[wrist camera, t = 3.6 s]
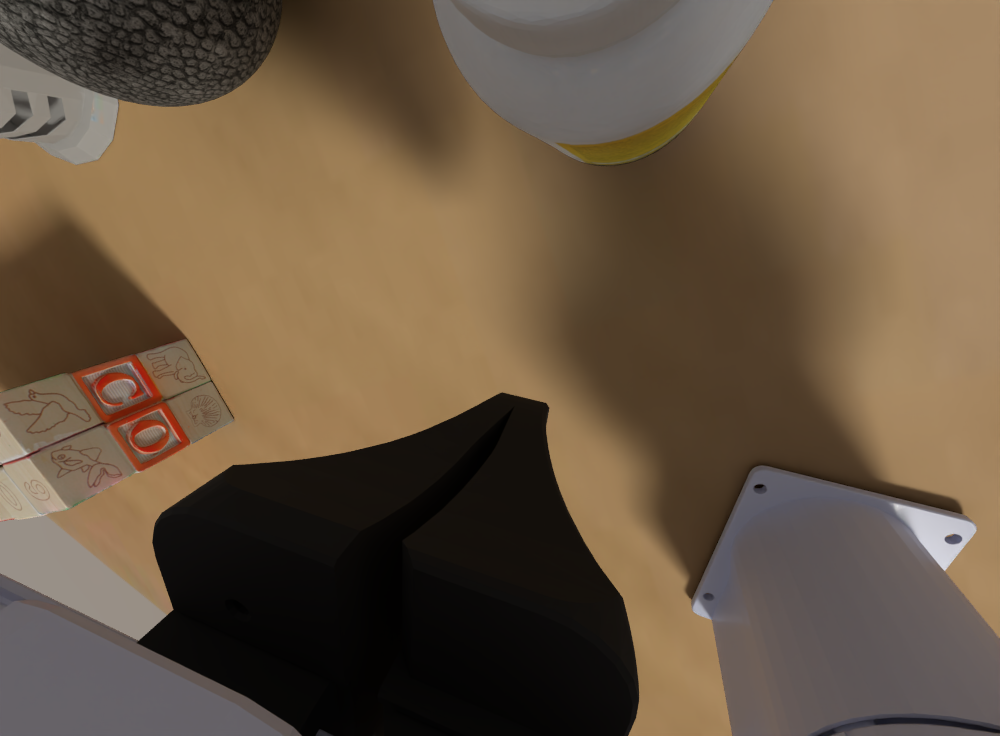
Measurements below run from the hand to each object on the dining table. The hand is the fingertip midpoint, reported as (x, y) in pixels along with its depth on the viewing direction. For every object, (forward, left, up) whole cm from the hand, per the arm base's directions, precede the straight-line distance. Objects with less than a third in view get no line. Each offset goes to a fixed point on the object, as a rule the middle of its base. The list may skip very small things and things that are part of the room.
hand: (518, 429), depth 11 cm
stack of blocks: (-13, +31, -9) cm, 35 cm away
